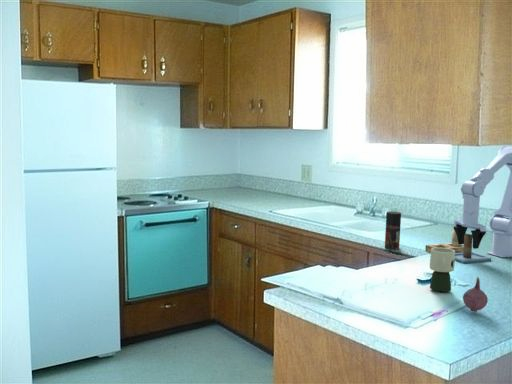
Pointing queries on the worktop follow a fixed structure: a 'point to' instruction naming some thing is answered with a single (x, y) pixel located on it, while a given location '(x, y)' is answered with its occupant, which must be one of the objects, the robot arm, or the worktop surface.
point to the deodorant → (392, 230)
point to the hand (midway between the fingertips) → (468, 246)
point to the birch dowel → (454, 239)
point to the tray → (474, 258)
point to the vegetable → (475, 297)
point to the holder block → (447, 245)
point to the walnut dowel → (467, 246)
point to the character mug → (441, 268)
